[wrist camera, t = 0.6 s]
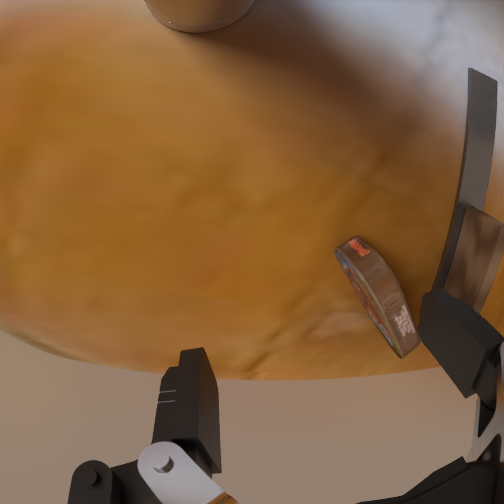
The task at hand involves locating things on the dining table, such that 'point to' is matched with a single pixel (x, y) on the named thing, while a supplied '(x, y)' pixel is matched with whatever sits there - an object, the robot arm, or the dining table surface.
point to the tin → (379, 294)
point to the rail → (472, 162)
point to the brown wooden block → (475, 258)
